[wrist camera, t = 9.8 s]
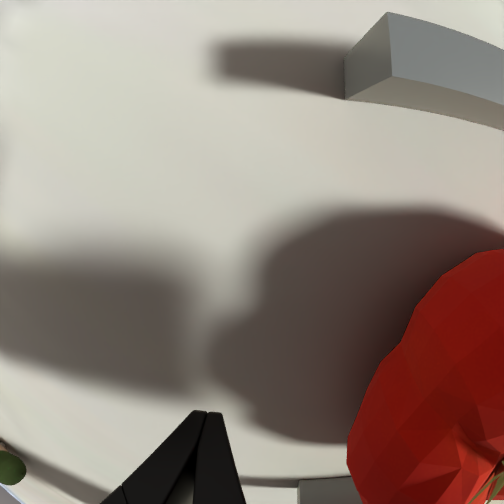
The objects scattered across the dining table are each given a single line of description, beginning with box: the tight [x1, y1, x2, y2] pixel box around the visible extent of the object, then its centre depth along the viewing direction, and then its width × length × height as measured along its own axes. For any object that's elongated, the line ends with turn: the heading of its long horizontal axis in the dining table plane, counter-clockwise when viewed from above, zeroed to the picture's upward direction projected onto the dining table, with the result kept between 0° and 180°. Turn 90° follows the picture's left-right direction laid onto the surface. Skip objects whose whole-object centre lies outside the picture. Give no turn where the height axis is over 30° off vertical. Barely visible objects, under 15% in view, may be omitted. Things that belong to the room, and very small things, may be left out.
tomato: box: [346, 249, 504, 504], centre depth 7 cm, size 10×11×6 cm
